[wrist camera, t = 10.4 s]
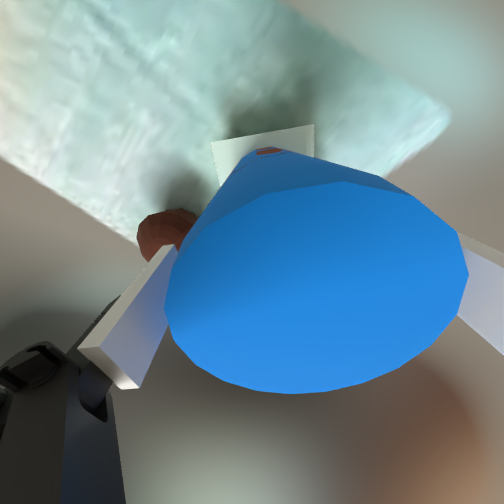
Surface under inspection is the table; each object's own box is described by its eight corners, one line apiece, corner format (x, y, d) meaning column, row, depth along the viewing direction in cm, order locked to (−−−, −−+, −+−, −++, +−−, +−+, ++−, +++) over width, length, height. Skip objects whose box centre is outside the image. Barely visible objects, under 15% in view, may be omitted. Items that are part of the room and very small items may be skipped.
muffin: (161, 190, 35) (131, 206, 26) (217, 215, 37) (206, 238, 29) (149, 241, 40) (121, 268, 32) (199, 260, 43) (185, 290, 34)
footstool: (217, 142, 31) (210, 142, 26) (303, 126, 30) (314, 123, 24) (234, 221, 38) (231, 234, 33) (304, 211, 37) (313, 223, 31)
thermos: (219, 198, 30) (126, 354, 8) (254, 128, 25) (258, 50, 3) (276, 231, 32) (320, 412, 11) (317, 174, 28) (544, 293, 6)
